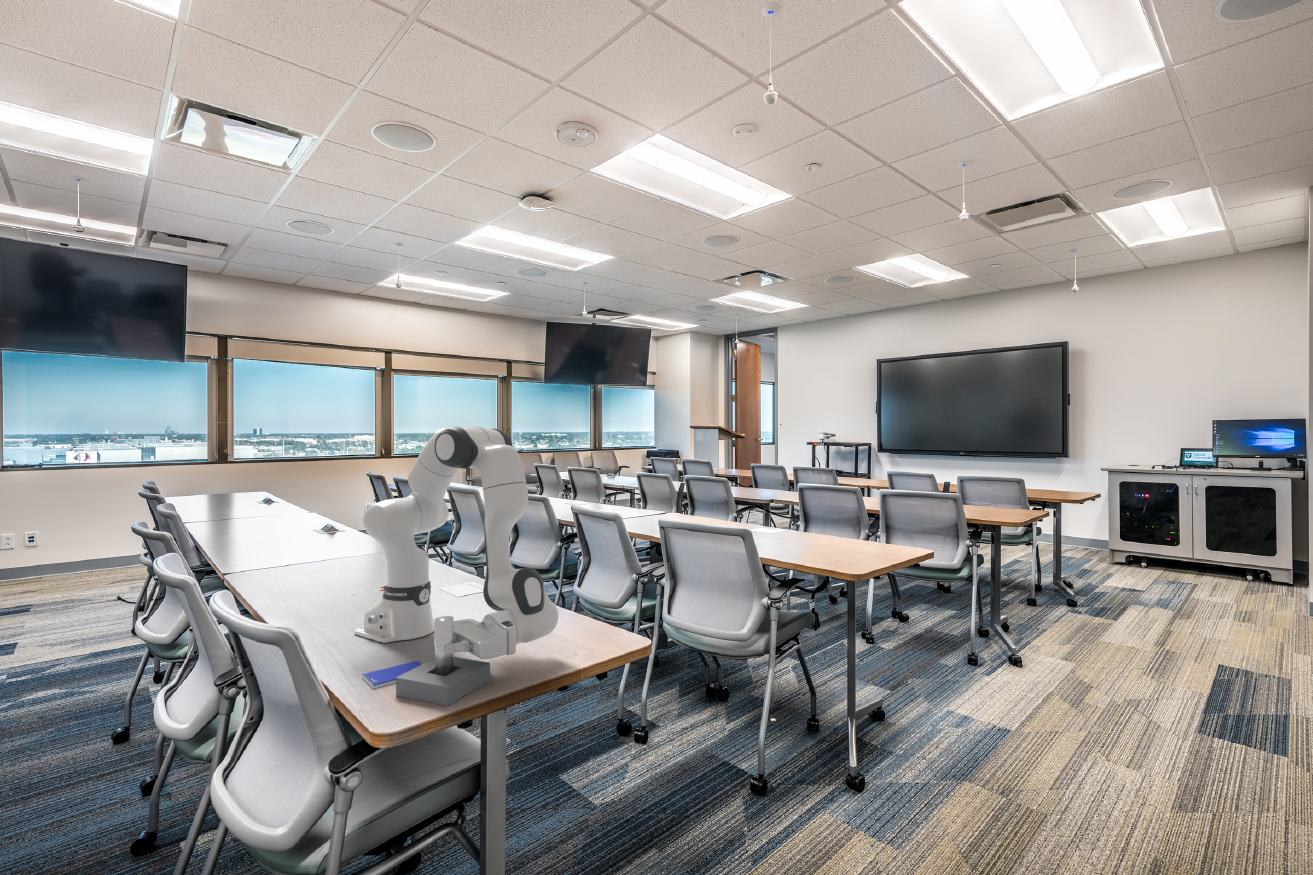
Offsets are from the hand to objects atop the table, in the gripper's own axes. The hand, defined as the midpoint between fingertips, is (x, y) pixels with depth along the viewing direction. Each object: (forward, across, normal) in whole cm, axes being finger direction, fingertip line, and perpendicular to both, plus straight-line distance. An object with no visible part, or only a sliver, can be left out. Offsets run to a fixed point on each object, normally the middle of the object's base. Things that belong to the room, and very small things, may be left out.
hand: (440, 646), depth 130 cm
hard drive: (+4, -15, +10) cm, 19 cm away
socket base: (-1, 0, +10) cm, 10 cm away
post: (-1, 0, +8) cm, 8 cm away
